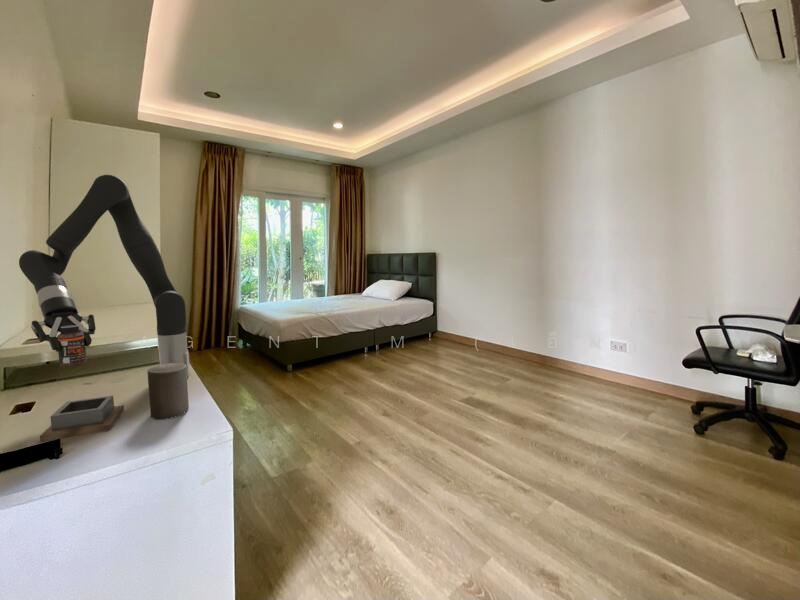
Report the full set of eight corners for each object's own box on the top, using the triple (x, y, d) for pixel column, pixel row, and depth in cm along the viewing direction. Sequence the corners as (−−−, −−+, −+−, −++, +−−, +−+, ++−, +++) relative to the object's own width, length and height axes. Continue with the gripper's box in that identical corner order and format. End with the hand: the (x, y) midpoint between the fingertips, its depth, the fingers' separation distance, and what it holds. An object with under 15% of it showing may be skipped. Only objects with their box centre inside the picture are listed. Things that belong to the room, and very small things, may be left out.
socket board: (124, 409, 107) (123, 405, 107) (110, 429, 95) (109, 424, 95) (63, 418, 101) (63, 413, 101) (40, 441, 89) (39, 436, 89)
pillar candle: (148, 422, 99) (144, 370, 98) (153, 409, 108) (149, 361, 106) (188, 415, 104) (185, 365, 102) (190, 403, 112) (187, 357, 111)
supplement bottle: (70, 367, 101) (65, 328, 100) (54, 366, 102) (49, 327, 101) (92, 361, 107) (88, 324, 105) (77, 360, 108) (72, 323, 107)
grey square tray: (114, 408, 105) (113, 395, 104) (103, 423, 96) (101, 408, 95) (68, 415, 100) (67, 401, 100) (52, 431, 91) (50, 416, 91)
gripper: (24, 298, 100) (40, 345, 95) (89, 293, 112) (106, 334, 107) (22, 314, 104) (37, 361, 99) (85, 308, 116) (102, 349, 111)
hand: (73, 347), depth 103 cm, fingers closed on supplement bottle, 6 cm apart
